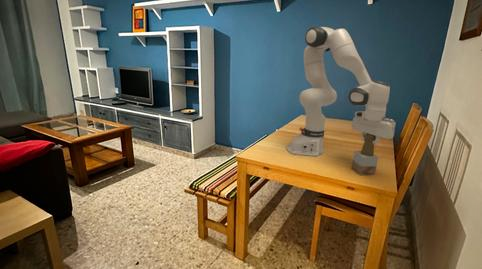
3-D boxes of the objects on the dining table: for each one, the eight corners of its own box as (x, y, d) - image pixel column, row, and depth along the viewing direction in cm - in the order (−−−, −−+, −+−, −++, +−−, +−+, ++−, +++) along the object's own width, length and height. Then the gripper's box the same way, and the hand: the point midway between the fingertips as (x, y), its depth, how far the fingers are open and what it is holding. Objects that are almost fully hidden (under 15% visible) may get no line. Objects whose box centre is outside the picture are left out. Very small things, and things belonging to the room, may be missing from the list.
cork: (358, 151, 130) (362, 131, 127) (370, 152, 129) (374, 132, 126) (363, 155, 124) (367, 134, 121) (375, 156, 124) (380, 135, 120)
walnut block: (360, 175, 125) (362, 166, 124) (351, 168, 133) (352, 160, 131) (374, 175, 127) (376, 166, 125) (364, 168, 134) (366, 159, 133)
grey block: (361, 166, 124) (363, 157, 123) (353, 159, 132) (354, 151, 130) (376, 166, 125) (378, 157, 123) (367, 159, 132) (369, 151, 131)
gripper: (400, 119, 114) (393, 147, 118) (359, 110, 130) (355, 135, 135) (392, 121, 111) (386, 150, 115) (352, 111, 127) (347, 137, 131)
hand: (369, 142), depth 125 cm, fingers open, 4 cm apart
